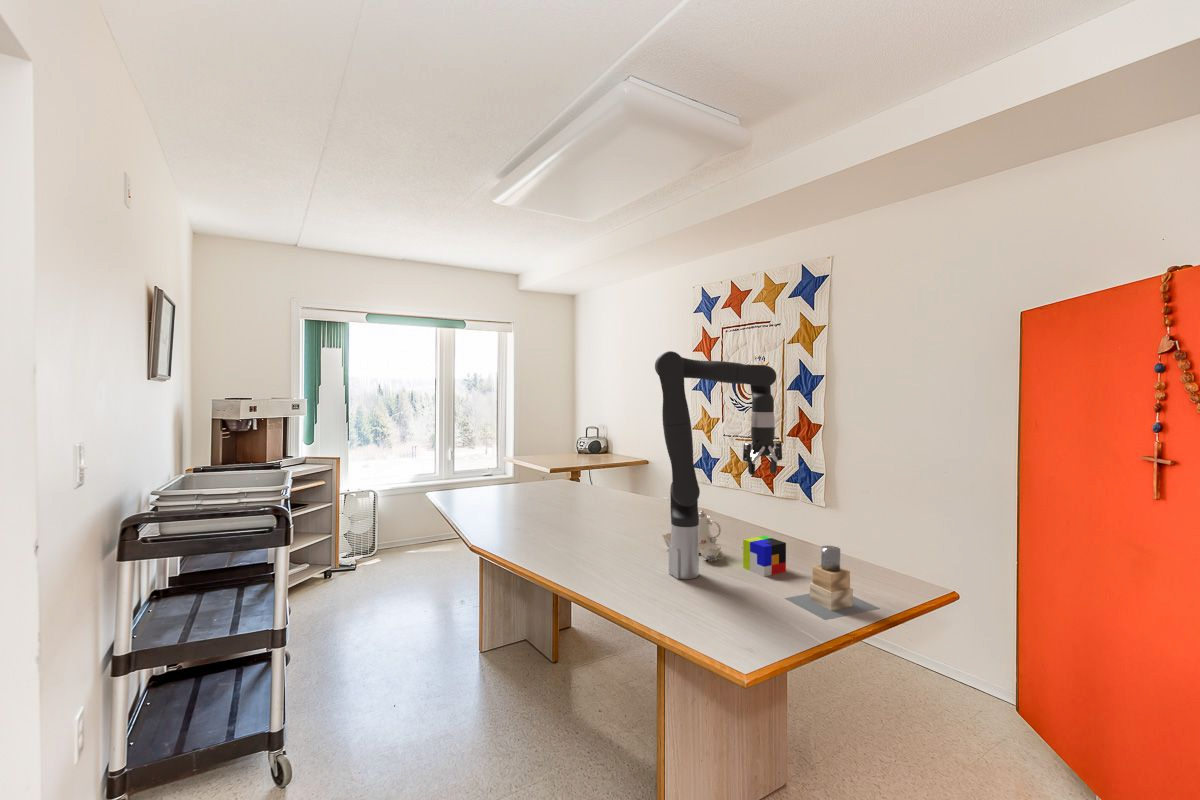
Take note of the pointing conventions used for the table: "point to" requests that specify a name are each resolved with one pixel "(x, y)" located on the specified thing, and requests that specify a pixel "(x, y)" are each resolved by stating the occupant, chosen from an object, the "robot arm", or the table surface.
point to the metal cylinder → (830, 558)
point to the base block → (831, 597)
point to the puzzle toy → (764, 555)
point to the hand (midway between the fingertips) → (762, 473)
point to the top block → (831, 579)
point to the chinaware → (704, 538)
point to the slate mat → (828, 614)
